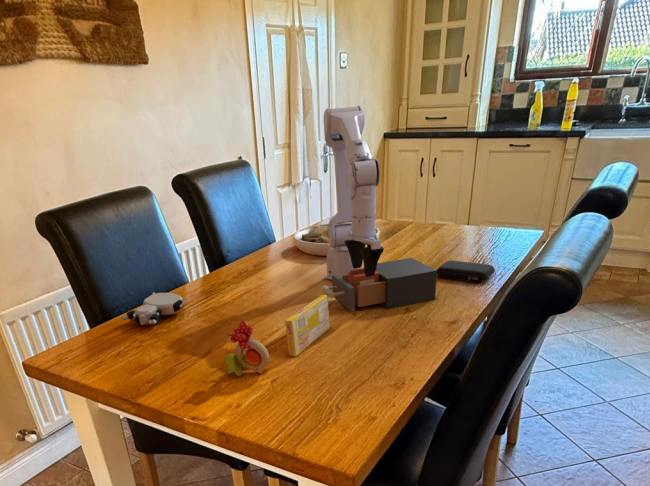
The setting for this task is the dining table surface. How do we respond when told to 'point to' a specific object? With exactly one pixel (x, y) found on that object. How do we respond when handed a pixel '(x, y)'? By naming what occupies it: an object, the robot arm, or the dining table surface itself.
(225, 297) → the dining table surface
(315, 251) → the bowl
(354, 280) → the ridged terracotta block
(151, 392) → the dining table surface
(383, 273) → the cabinet
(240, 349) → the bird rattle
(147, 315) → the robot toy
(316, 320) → the candy box
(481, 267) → the carrying case
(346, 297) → the drawer
